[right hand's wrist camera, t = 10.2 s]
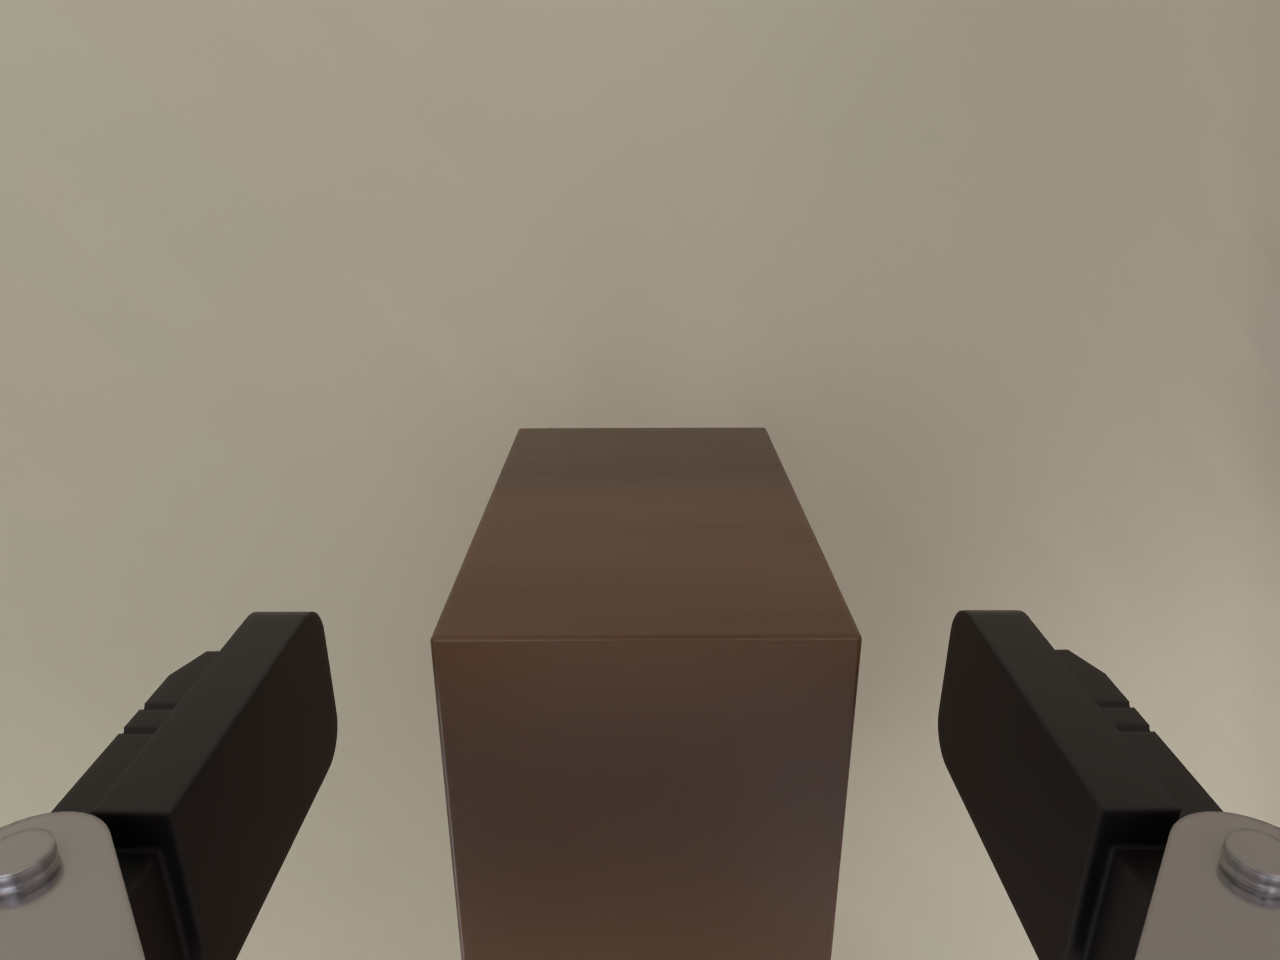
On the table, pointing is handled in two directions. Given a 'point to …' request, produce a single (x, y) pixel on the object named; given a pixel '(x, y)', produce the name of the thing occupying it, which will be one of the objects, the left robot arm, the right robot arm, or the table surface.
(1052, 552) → the table surface
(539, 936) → the bar
